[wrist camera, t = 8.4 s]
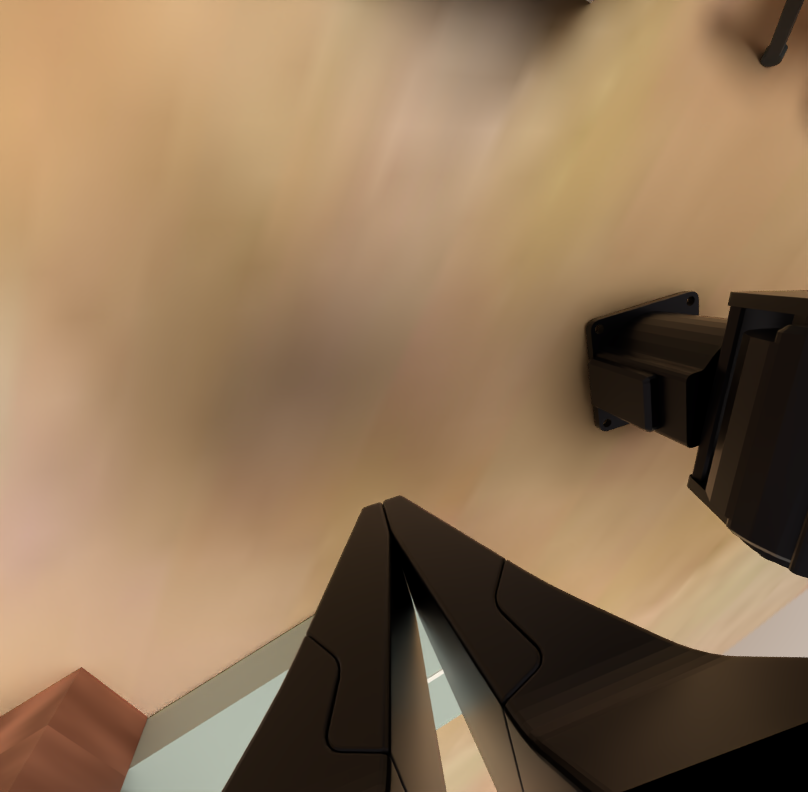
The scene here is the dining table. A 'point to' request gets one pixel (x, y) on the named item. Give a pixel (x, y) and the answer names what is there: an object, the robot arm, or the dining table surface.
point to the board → (237, 719)
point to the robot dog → (781, 34)
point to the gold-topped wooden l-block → (69, 739)
